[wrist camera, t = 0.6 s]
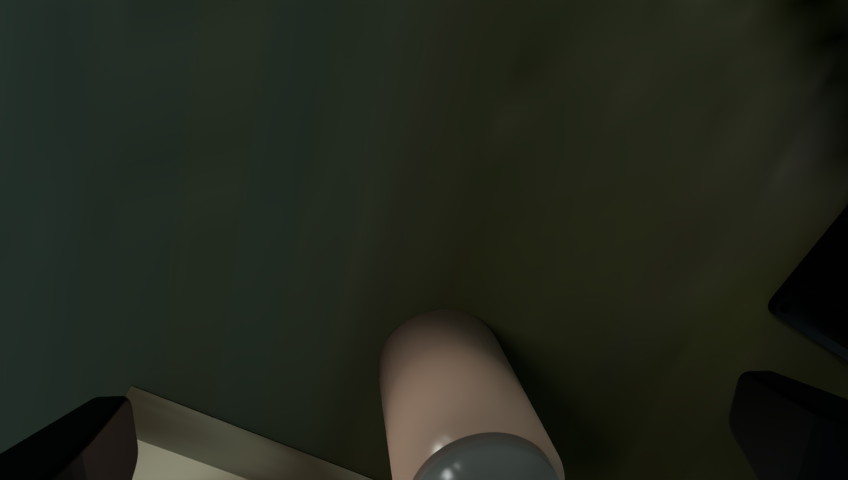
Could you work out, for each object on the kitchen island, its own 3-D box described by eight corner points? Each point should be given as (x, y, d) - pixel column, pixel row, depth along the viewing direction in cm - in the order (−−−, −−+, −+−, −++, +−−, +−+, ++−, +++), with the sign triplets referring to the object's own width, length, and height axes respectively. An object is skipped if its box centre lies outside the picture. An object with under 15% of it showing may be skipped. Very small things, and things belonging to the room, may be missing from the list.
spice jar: (524, 341, 24) (609, 480, 16) (457, 434, 25) (510, 603, 18) (420, 288, 22) (464, 415, 15) (354, 389, 23) (365, 553, 16)
